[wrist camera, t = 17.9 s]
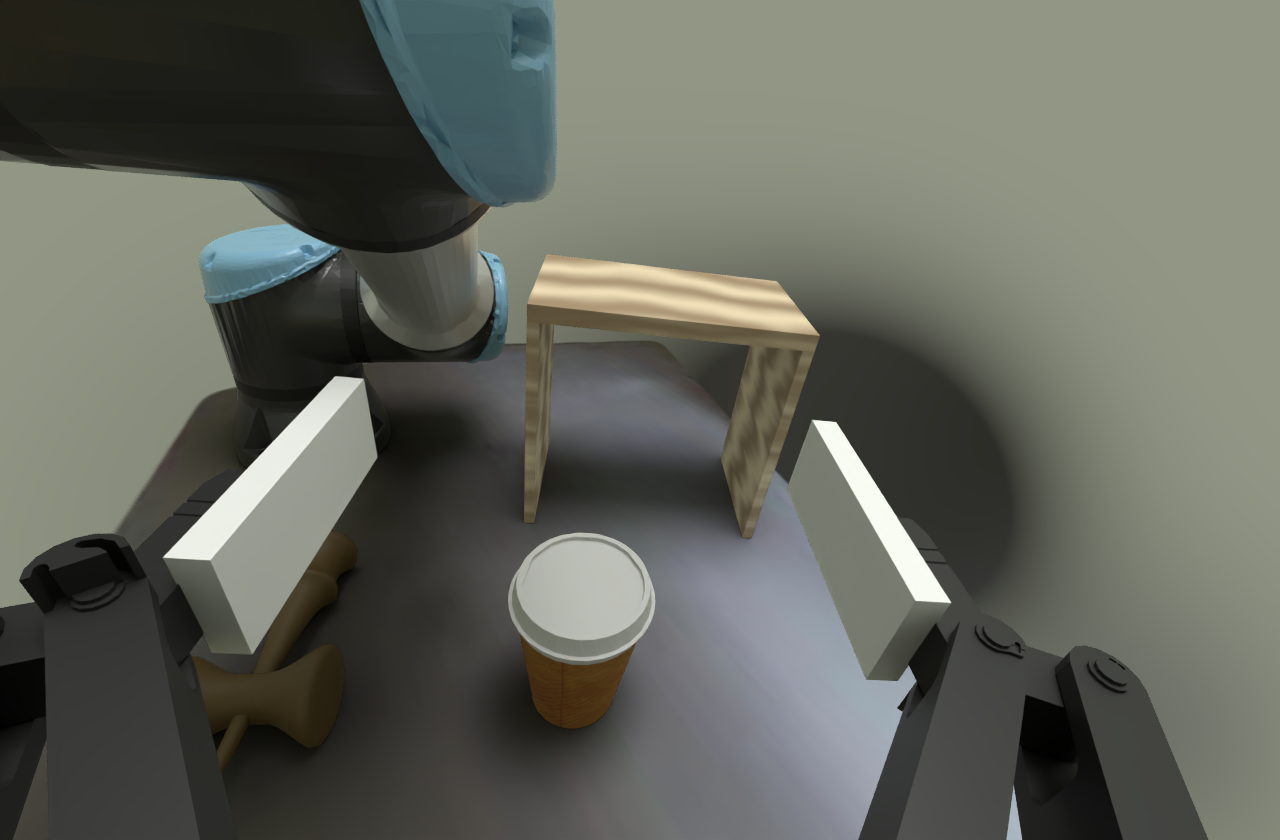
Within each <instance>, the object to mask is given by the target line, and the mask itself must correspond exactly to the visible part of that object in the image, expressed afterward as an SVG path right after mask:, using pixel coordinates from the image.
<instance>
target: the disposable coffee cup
mask: <svg viewBox="0 0 1280 840" xmlns="http://www.w3.org/2000/svg"><path fill="white" fill-rule="evenodd" d="M508 604H509V611H510V614H511V617H512V621H513V624H514V626H515V627H516V629H517V630H518V632H519V633H520V637H521V643H522V648H523V653H524V658H525V663H526V668H527V673H528V678H529V683H530V688H531V692H532V698H533V702H534V705H535V707H536V709H537V711H538V712H539V713H540V714H541V715H542V716H543V717H544V719H546V720H547V721H548V722H550V723H552V724H554V725H556V726H559V727H563V728H572V729H575V728H581V727H585V726H587V725H590V724H592V723H594V722H595V721H597V720H598V719H599V718H600V717H601V716H602V715H603V714H604V713H605V712H606V711H607V710H608V708H609V707H610V704H611V702H612V700H613V697H614V695H615V692H616V690H617V687H618V685H619V682H620V680H621V678H622V675H623V673H624V671H625V668H626V666H627V663H628V661H629V659H630V656H631V654H632V651H633V649H634V647H635V644H636V642H637V641H639V640H640V638H641V637H642V636H643V634H644V633H645V632H646V630H647V628H648V626H649V624H650V622H651V620H652V617H653V614H654V608H655V592H654V589H653V586H652V582H651V580H650V578H649V575H648V572H647V570H646V567H645V565H644V564H643V562H642V561H641V559H640V558H639V557H638V556H637V555H636V553H635V552H634V551H632V550H631V549H630V548H629V547H627V546H626V545H624V544H623V543H621V542H619V541H617V540H615V539H613V538H610V537H606V536H603V535H599V534H592V533H573V534H566V535H561V536H558V537H555V538H552V539H550V540H547V541H546V542H544V543H542V544H541V545H539V546H538V547H537V548H535V549H534V550H533V551H532V552H531V553H530V554H529V555H528V556H527V557H526V558H525V560H524V562H523V564H522V565H521V567H520V568H519V570H518V571H517V572H516V574H515V576H514V578H513V580H512V582H511V586H510V590H509V596H508Z"/></svg>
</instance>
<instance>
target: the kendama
mask: <svg viewBox="0 0 1280 840" xmlns="http://www.w3.org/2000/svg"><path fill="white" fill-rule="evenodd" d="M357 554H358V550H357V548H356V546H355V544H354V542H353V541H352V540H350V539H349V538H348V537H347V536H346V535H344V534H341V533H339V532H336V531H333V530H331V531H330V533H329V534H328V536H327V538H326V539H325V541H324V542H323V544H322V545H321V547H320V549H319V550H318V552H317V553H316V555H315V556H314V558H313V560H312V561H311V563H310V564H309V566H308V568H307V569H306V571H305V572H304V574H303V575H302V577H301V579H300V580H299V582H298V583H297V585H296V586H295V588H294V590H293V591H292V593H291V594H290V596H289V597H288V599H287V601H286V602H285V604H284V605H283V607H282V608H281V610H280V612H279V613H278V615H277V616H276V618H275V619H274V621H273V623H272V624H271V627H270V630H269V633H268V636H267V638H266V641H265V644H264V647H263V649H262V652H261V654H260V657H259V659H258V662H257V664H256V667H255V669H254V671H253V674H235V673H230V672H227V671H225V670H223V669H221V668H219V667H217V666H216V665H214V664H212V663H211V662H209V661H207V660H205V659H203V658H200V657H194V656H191V657H192V659H193V660H194V663H195V667H196V671H197V675H198V679H199V683H200V688H201V692H202V696H203V700H204V704H205V708H206V712H207V716H208V720H209V724H210V728H211V732H212V735H213V734H215V733H217V732H219V731H222V730H225V729H227V731H226V733H225V735H224V737H223V739H222V741H221V743H220V745H219V748H218V750H217V752H216V753H217V757H218V761H219V765H220V769H221V773H222V775H223V773H224V771H225V769H226V767H227V765H228V764H229V762H230V760H231V758H232V756H233V754H234V752H235V750H236V748H237V746H238V744H239V742H240V741H241V739H242V737H243V735H244V733H245V731H246V729H247V727H248V725H257V724H262V725H268V724H269V725H272V726H275V727H277V728H279V729H281V730H282V731H284V732H285V733H287V734H288V735H289V736H291V737H292V738H293V739H295V740H296V741H297V742H299V743H300V744H302V745H303V746H305V747H308V748H312V747H317V746H320V745H321V744H322V743H323V741H324V740H325V738H326V737H327V736H328V734H329V733H330V731H331V729H332V727H333V724H334V722H335V720H336V718H337V715H338V711H339V707H340V704H341V700H342V694H343V687H344V663H343V657H342V655H341V653H340V651H339V649H338V648H337V646H336V645H332V644H325V645H323V646H321V647H319V648H317V649H315V650H314V651H312V652H310V653H309V654H307V655H306V656H304V657H303V658H301V659H299V660H298V661H296V662H294V663H293V664H291V665H289V666H287V667H285V668H283V669H280V670H279V668H280V667H281V665H282V663H283V662H284V660H285V658H286V657H287V655H288V653H289V652H290V650H291V648H292V647H293V645H294V644H295V642H296V641H297V639H298V637H299V636H300V634H301V633H302V631H303V630H304V628H305V627H306V626H307V624H308V623H309V621H310V620H311V619H312V617H313V616H314V615H315V614H316V612H317V611H318V610H319V609H320V608H321V607H324V606H326V605H328V604H331V603H333V601H334V600H335V599H336V597H337V596H338V585H337V583H336V582H337V579H338V577H339V576H340V575H341V574H342V573H343V572H346V571H348V570H350V569H351V568H352V567H353V566H354V564H355V563H356V561H357Z"/></svg>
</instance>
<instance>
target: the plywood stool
mask: <svg viewBox="0 0 1280 840" xmlns="http://www.w3.org/2000/svg"><path fill="white" fill-rule="evenodd" d="M554 325H562V326H571V327H582V328H591V329H600V330H609V331H619V332H628V333H638V334H647V335H657V336H666V337H676V338H685V339H695V340H704V341H713V342H723V343H732V344H742V345H750V349H749V353H748V357H747V361H746V364H745V368H744V372H743V376H742V380H741V383H740V387H739V391H738V395H737V398H736V402H735V406H734V410H733V414H732V417H731V421H730V425H729V429H728V432H727V436H726V440H725V444H724V448H723V451H722V455H721V461H722V465H723V469H724V472H725V476H726V480H727V483H728V487H729V491H730V494H731V498H732V502H733V505H734V509H735V513H736V516H737V520H738V524H739V527H740V531H741V535H742V538H752V535H753V532H754V529H755V526H756V523H757V520H758V517H759V514H760V511H761V508H762V505H763V502H764V499H765V496H766V493H767V490H768V487H769V485H770V482H771V479H772V476H773V473H774V470H775V466H776V464H777V461H778V458H779V455H780V452H781V449H782V446H783V443H784V440H785V437H786V434H787V431H788V428H789V425H790V422H791V419H792V416H793V414H794V411H795V408H796V405H797V402H798V399H799V396H800V392H801V390H802V387H803V384H804V381H805V378H806V375H807V372H808V369H809V366H810V363H811V360H812V357H813V354H814V351H815V348H816V345H817V342H818V339H819V337H820V335H819V334H818V333H817V332H816V330H815V329H814V328H813V327H812V325H811V324H810V323H809V322H808V320H807V319H806V318H805V317H804V315H803V314H802V313H801V312H800V310H799V309H798V308H797V306H796V305H795V304H794V303H793V301H792V300H791V299H790V298H789V296H788V295H787V294H786V292H785V291H784V290H783V289H782V287H781V286H780V285H779V284H778V282H776V281H768V280H760V279H751V278H743V277H735V276H726V275H718V274H710V273H700V272H693V271H683V270H676V269H667V268H659V267H650V266H641V265H633V264H625V263H617V262H608V261H600V260H591V259H582V258H575V257H566V256H558V255H549V254H547V256H546V258H545V261H544V263H543V266H542V268H541V271H540V273H539V276H538V278H537V281H536V283H535V286H534V288H533V291H532V293H531V296H530V298H529V300H528V303H527V346H526V418H525V490H524V523H534V520H535V515H536V510H537V504H538V499H539V494H540V488H541V483H542V478H543V472H544V467H545V462H546V456H547V451H548V446H549V429H550V406H551V383H552V360H553V336H554Z"/></svg>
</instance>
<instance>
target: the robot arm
mask: <svg viewBox="0 0 1280 840" xmlns="http://www.w3.org/2000/svg"><path fill="white" fill-rule="evenodd" d="M556 132H557V131H556V55H555V14H554V0H0V161H8V162H20V163H34V164H45V165H49V166H60V167H72V168H86V169H100V170H107V171H118V172H131V173H143V174H156V175H168V176H181V177H194V178H206V179H218V180H232V181H239V182H242V183H243V184H244V185H245V186H246V187H247V188H248V189H249V190H250V191H251V192H252V193H253V194H254V195H255V196H256V198H258V199H259V200H260V201H261V202H262V203H263V204H264V205H265V206H266V207H267V208H269V209H270V210H271V211H272V212H273V213H274V214H275V215H277V216H278V217H280V218H281V219H282V220H284V221H285V222H286V223H288V224H282V225H273V226H265V227H259V228H253V229H248V230H243V231H240V232H236V233H232V234H229V235H226V236H224V237H221V238H219V239H217V240H215V241H213V242H211V243H210V244H208V245H207V246H206V247H205V248H204V249H203V250H202V252H201V254H200V257H199V267H200V271H201V275H202V279H203V283H204V287H205V291H206V292H205V299H206V302H207V303H209V306H210V309H211V312H212V315H213V318H214V320H215V324H216V326H217V330H218V333H219V336H220V338H221V342H222V344H223V347H224V350H225V353H226V356H227V359H228V362H229V365H230V368H231V371H232V374H233V377H234V380H235V383H236V386H237V390H238V396H237V405H236V413H235V422H234V430H233V443H234V446H235V449H236V452H237V455H238V458H239V460H240V462H241V464H242V465H243V466H244V467H245V468H246V469H247V470H246V471H242V470H227V471H225V472H223V473H221V474H219V475H218V476H216V477H214V478H212V479H211V480H209V481H207V482H205V483H204V484H203V485H202V486H201V487H200V488H199V489H198V490H197V491H196V492H195V493H194V494H193V495H191V496H190V497H189V498H188V499H187V503H183V504H182V505H181V506H180V507H179V508H178V509H177V510H176V511H175V512H174V513H173V514H174V515H173V517H169V518H168V519H167V520H166V521H165V522H164V523H163V524H162V525H161V526H160V527H159V528H158V529H157V530H156V531H155V532H154V533H153V534H152V535H151V536H150V537H148V538H147V539H146V540H145V541H144V542H143V543H142V544H141V545H140V546H139V547H138V548H137V549H136V550H135V551H134V552H133V550H132V548H131V547H130V545H129V543H128V542H127V541H126V539H125V538H124V537H121V536H118V535H115V534H92V535H88V536H83V537H79V538H74V539H72V540H69V541H67V542H64V543H61V544H59V545H56V546H54V547H52V548H51V549H49V550H47V551H46V552H44V553H42V554H41V555H39V556H37V557H36V558H35V559H34V560H33V561H32V562H31V563H30V564H29V565H28V566H27V567H26V568H24V570H23V572H22V575H21V577H20V580H19V581H20V583H21V584H22V585H23V586H24V588H25V589H26V590H27V592H28V593H29V594H30V596H31V597H32V598H33V600H34V601H35V602H33V603H27V604H21V605H15V606H9V607H4V608H0V840H12V839H13V836H14V833H15V830H16V827H17V824H18V821H19V819H20V816H21V813H22V810H23V807H24V804H25V801H26V798H27V795H28V792H29V789H30V786H31V783H32V780H33V777H34V774H35V771H36V768H37V765H38V762H39V759H40V756H41V753H42V750H43V747H44V745H45V742H46V739H47V772H48V816H49V840H238V839H237V835H236V831H235V826H234V822H233V818H232V814H231V810H230V806H229V802H228V798H227V794H226V790H225V786H224V781H223V777H222V773H221V769H220V765H219V761H218V757H217V753H216V749H215V745H214V741H213V737H212V732H211V728H210V724H209V720H208V716H207V712H206V708H205V704H204V700H203V696H202V692H201V688H200V683H199V679H198V675H197V671H196V667H195V663H194V660H193V659H192V657H191V655H190V651H191V650H192V649H193V647H194V646H195V645H196V643H197V642H198V641H199V639H200V638H201V637H202V635H203V637H204V639H205V641H206V642H207V644H208V646H209V648H210V650H211V652H212V653H229V654H253V653H254V651H255V649H256V648H257V646H258V645H259V643H260V642H261V640H262V638H263V637H264V635H265V634H266V632H267V631H268V629H269V627H270V626H271V624H272V623H273V621H274V619H275V618H276V616H277V615H278V613H279V612H280V610H281V608H282V607H283V605H284V604H285V602H286V601H287V599H288V597H289V596H290V594H291V593H292V591H293V590H294V588H295V586H296V585H297V583H298V582H299V580H300V579H301V577H302V575H303V574H304V572H305V571H306V569H307V568H308V566H309V564H310V563H311V561H312V560H313V558H314V556H315V555H316V553H317V552H318V550H319V549H320V547H321V545H322V544H323V542H324V541H325V539H326V538H327V536H328V534H329V533H330V531H331V530H332V528H333V527H334V525H335V523H336V522H337V520H338V519H339V517H340V516H341V514H342V512H343V511H344V509H345V508H346V506H347V505H348V503H349V501H350V500H351V498H352V497H353V495H354V493H355V492H356V490H357V489H358V487H359V486H360V484H361V482H362V481H363V479H364V478H365V476H366V475H367V473H368V471H369V470H370V468H371V467H372V465H373V464H374V462H375V460H376V459H377V454H378V453H380V451H381V450H382V449H383V448H384V447H385V446H386V444H387V443H388V441H389V438H390V433H391V430H390V424H389V417H388V413H387V411H386V408H385V407H384V405H383V403H382V402H381V400H380V398H379V397H378V395H377V393H376V392H375V390H374V388H373V387H372V385H371V383H370V382H369V380H368V379H367V377H366V375H365V373H364V369H363V363H374V362H466V363H476V362H478V361H488V360H492V359H495V358H496V357H498V356H499V354H500V353H501V351H502V349H503V347H504V343H505V332H506V329H507V320H508V295H507V283H506V276H505V271H504V268H503V265H502V263H501V261H500V259H499V258H498V257H497V256H496V255H494V254H491V253H485V252H483V251H479V250H478V222H479V221H480V220H481V218H483V217H484V216H485V215H486V214H487V212H488V211H489V210H490V208H491V207H492V206H493V207H508V206H510V205H512V204H514V203H517V202H536V201H539V200H541V199H543V198H545V197H546V196H547V195H548V194H549V193H550V192H551V190H552V189H553V187H554V183H555V177H556V153H557V152H556V151H557V148H556V147H557V138H556V137H557V134H556ZM787 490H788V493H789V495H790V497H791V500H792V502H793V505H794V507H795V509H796V512H797V514H798V517H799V519H800V521H801V524H802V526H803V529H804V531H805V534H806V536H807V538H808V541H809V543H810V546H811V548H812V550H813V553H814V555H815V558H816V560H817V562H818V565H819V567H820V570H821V572H822V575H823V577H824V579H825V582H826V584H827V587H828V589H829V591H830V594H831V596H832V599H833V601H834V603H835V606H836V608H837V611H838V613H839V616H840V618H841V620H842V623H843V625H844V628H845V630H846V632H847V635H848V637H849V640H850V642H851V644H852V647H853V649H854V652H855V654H856V657H857V659H858V661H859V664H860V666H861V669H862V671H863V673H864V676H865V678H866V680H888V681H898V680H899V678H900V677H901V675H902V674H903V673H904V671H905V670H906V668H907V667H908V665H909V666H910V668H911V670H912V673H913V675H914V677H915V679H916V683H915V684H914V686H913V687H912V688H911V690H910V691H909V693H908V694H907V695H906V697H905V698H904V700H903V701H902V702H901V704H900V705H899V706H898V709H899V710H901V711H903V713H902V716H901V719H900V722H899V725H898V727H897V730H896V733H895V736H894V739H893V742H892V745H891V748H890V750H889V753H888V756H887V759H886V762H885V765H884V768H883V770H882V773H881V776H880V779H879V782H878V785H877V788H876V791H875V793H874V796H873V799H872V802H871V805H870V808H869V811H868V814H867V816H866V819H865V822H864V825H863V828H862V831H861V834H860V837H859V839H858V840H1006V838H1007V830H1008V823H1009V815H1010V808H1011V800H1012V793H1013V785H1014V789H1015V795H1016V802H1017V808H1018V815H1019V821H1020V827H1021V834H1022V840H1208V838H1207V836H1206V833H1205V831H1204V828H1203V826H1202V823H1201V821H1200V819H1199V816H1198V814H1197V812H1196V809H1195V807H1194V804H1193V802H1192V800H1191V797H1190V795H1189V792H1188V790H1187V787H1186V785H1185V783H1184V780H1183V778H1182V775H1181V773H1180V770H1179V768H1178V766H1177V763H1176V761H1175V759H1174V756H1173V754H1172V752H1171V749H1170V746H1169V744H1168V742H1167V739H1166V737H1165V734H1164V732H1163V730H1162V727H1161V725H1160V722H1159V720H1158V717H1157V715H1156V713H1155V710H1154V708H1153V705H1152V703H1151V701H1150V698H1149V696H1148V693H1147V691H1146V689H1145V688H1144V686H1143V685H1142V683H1141V681H1140V680H1139V678H1138V677H1137V676H1136V675H1135V674H1134V673H1133V672H1132V671H1131V670H1130V669H1129V668H1128V667H1127V666H1125V665H1124V664H1123V663H1121V662H1120V661H1118V660H1117V659H1116V658H1114V657H1113V656H1111V655H1109V654H1107V653H1105V652H1103V651H1101V650H1099V649H1096V648H1092V647H1088V646H1075V647H1074V648H1073V649H1072V650H1071V651H1070V652H1069V653H1068V654H1067V655H1066V656H1065V657H1064V658H1061V657H1059V656H1055V655H1053V654H1049V653H1046V652H1043V651H1040V650H1036V649H1034V648H1031V647H1028V646H1026V645H1025V643H1024V641H1023V639H1022V638H1021V637H1020V636H1019V635H1018V634H1017V633H1016V632H1015V631H1014V630H1013V629H1012V628H1011V627H1009V626H1008V625H1006V624H1005V623H1003V622H1002V621H1000V620H999V619H997V618H994V617H992V616H989V615H987V614H983V613H981V612H980V610H979V609H978V607H977V606H976V605H975V603H974V601H973V600H972V599H971V597H970V596H969V594H968V593H967V591H966V590H965V588H964V587H963V585H962V584H961V582H960V581H959V580H958V578H957V576H956V575H955V574H954V572H953V571H952V569H951V568H950V566H947V562H946V561H945V559H944V558H943V556H942V555H941V553H939V552H938V549H937V547H936V546H935V544H934V543H933V541H932V540H931V539H930V537H929V535H928V534H927V533H926V532H925V531H924V530H922V529H921V528H920V527H919V526H918V525H917V524H916V523H915V522H913V521H912V520H911V519H910V518H897V517H896V515H895V514H894V512H893V511H892V509H891V508H890V506H889V504H888V503H887V502H886V500H885V498H884V497H883V495H882V493H881V492H880V490H879V489H878V487H877V486H876V484H875V483H874V481H873V479H872V478H871V476H870V475H869V473H868V472H867V470H866V468H865V467H864V465H863V464H862V462H861V461H860V459H859V457H858V456H857V454H856V453H855V451H854V450H853V448H852V447H851V445H850V443H849V442H848V440H847V439H846V437H845V436H844V434H843V432H842V431H841V429H840V428H839V426H838V425H837V423H836V422H827V421H815V420H812V422H811V425H810V427H809V430H808V433H807V436H806V439H805V441H804V444H803V447H802V449H801V452H800V455H799V458H798V460H797V463H796V466H795V469H794V472H793V474H792V477H791V480H790V482H789V485H788V488H787Z"/></svg>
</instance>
